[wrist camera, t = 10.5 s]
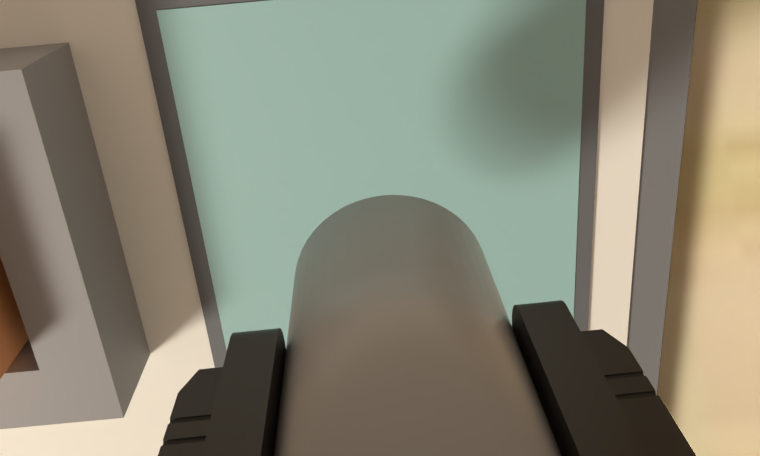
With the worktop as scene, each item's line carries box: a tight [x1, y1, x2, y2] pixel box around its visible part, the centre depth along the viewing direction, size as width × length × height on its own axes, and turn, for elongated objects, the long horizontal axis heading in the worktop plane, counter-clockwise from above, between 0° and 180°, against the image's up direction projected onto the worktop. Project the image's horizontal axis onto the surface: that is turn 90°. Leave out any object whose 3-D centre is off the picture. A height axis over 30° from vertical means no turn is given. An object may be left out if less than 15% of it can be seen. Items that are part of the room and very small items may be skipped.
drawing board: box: [0, 0, 697, 456], centre depth 17 cm, size 22×26×4 cm
